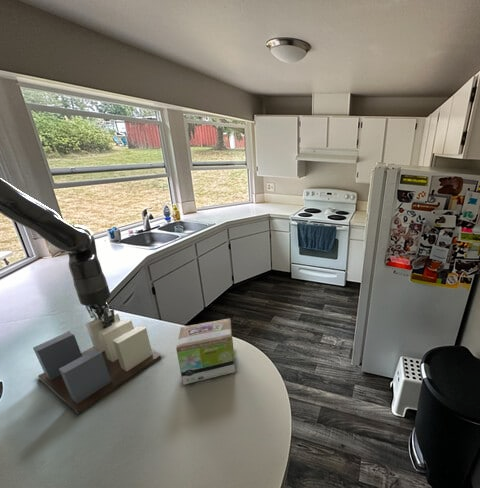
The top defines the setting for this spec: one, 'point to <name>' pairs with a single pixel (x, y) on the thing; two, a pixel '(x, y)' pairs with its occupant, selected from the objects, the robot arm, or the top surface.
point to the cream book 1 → (94, 330)
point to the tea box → (205, 350)
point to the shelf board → (117, 380)
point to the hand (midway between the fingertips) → (106, 330)
